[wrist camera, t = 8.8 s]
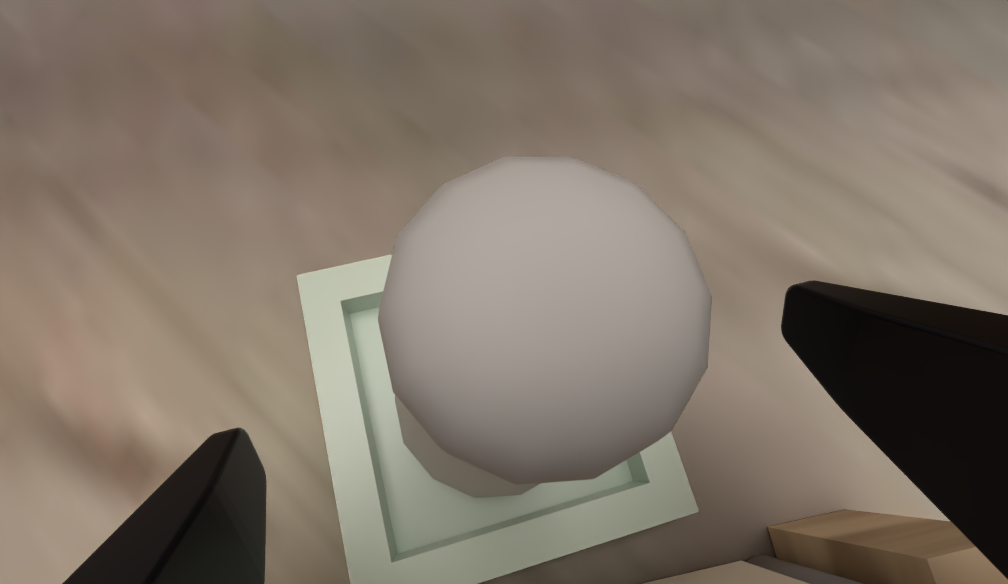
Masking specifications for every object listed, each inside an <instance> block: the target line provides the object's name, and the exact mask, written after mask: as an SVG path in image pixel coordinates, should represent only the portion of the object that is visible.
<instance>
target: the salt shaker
mask: <svg viewBox="0 0 1008 584" xmlns="http://www.w3.org/2000/svg"><path fill="white" fill-rule="evenodd" d="M711 305H712V295H711V293H710V290H709V288H708V286H707V283H706V281H705V279H704V276H703V274H702V271H701V269H700V267H699V264H698V262H697V259H696V257H695V255H694V252H693V250H692V247H691V245H690V243H689V240H688V238H687V236H686V233H685V231H684V230H683V229H682V228H681V227H680V226H679V225H678V224H677V223H676V222H675V221H674V220H673V219H672V218H671V217H670V216H669V215H668V214H667V213H666V212H665V211H664V210H663V209H662V208H661V207H660V206H659V205H658V204H657V203H656V202H655V201H654V200H653V199H652V198H651V197H650V196H649V195H648V194H647V193H646V192H645V191H644V190H643V189H642V188H641V187H640V186H639V185H638V184H637V183H636V182H634V181H631V180H629V179H626V178H624V177H621V176H619V175H616V174H614V173H611V172H609V171H606V170H604V169H601V168H599V167H596V166H594V165H591V164H589V163H586V162H584V161H581V160H579V159H576V158H574V157H523V156H504V157H502V158H500V159H497V160H495V161H493V162H491V163H489V164H486V165H484V166H482V167H480V168H477V169H475V170H473V171H471V172H469V173H466V174H464V175H462V176H460V177H457V178H455V179H453V180H451V181H449V182H446V183H444V184H442V186H441V187H440V188H439V189H438V190H437V191H436V192H435V193H434V195H433V196H432V197H431V198H430V199H429V200H428V201H427V202H426V203H425V205H424V206H423V207H422V208H421V209H420V210H419V211H418V212H417V214H416V215H415V216H414V217H413V218H412V219H411V220H410V221H409V222H408V224H407V225H406V226H405V227H404V228H403V229H402V230H401V231H400V233H399V234H398V235H397V237H396V241H395V245H394V249H393V253H392V257H391V261H390V266H389V270H388V274H387V278H386V282H385V286H384V290H383V294H382V298H381V303H380V307H379V314H378V323H379V328H380V333H381V337H382V342H383V347H384V352H385V356H386V361H387V366H388V371H389V375H390V380H391V385H392V390H393V393H394V394H395V404H396V409H397V414H398V418H399V423H400V428H401V433H402V438H403V443H404V444H405V446H406V447H407V448H408V449H409V450H410V452H411V453H412V454H413V455H414V456H415V458H416V459H417V460H418V461H419V462H420V464H421V465H422V466H423V467H424V468H425V470H426V471H427V472H428V473H429V474H430V476H431V477H432V478H433V479H434V480H437V481H439V482H441V483H443V484H445V485H448V486H450V487H452V488H454V489H456V490H459V491H461V492H463V493H465V494H467V495H469V496H472V497H474V498H483V497H498V496H512V495H522V494H524V493H525V492H527V491H529V490H530V489H532V488H534V487H535V486H537V485H539V484H540V483H549V482H563V481H577V480H590V479H595V478H597V477H598V476H600V475H602V474H603V473H605V472H607V471H608V470H610V469H612V468H614V467H615V466H617V465H619V464H620V463H622V462H624V461H625V460H627V459H629V458H630V457H632V456H634V455H635V454H637V453H639V452H641V451H642V450H644V449H646V448H647V447H649V446H651V445H652V444H654V443H656V442H657V441H659V440H660V439H662V438H663V437H664V436H666V435H667V434H668V433H670V432H671V431H672V429H673V427H674V426H675V424H676V422H677V420H678V418H679V417H680V415H681V413H682V411H683V410H684V408H685V406H686V404H687V403H688V401H689V399H690V397H691V396H692V394H693V392H694V390H695V389H696V387H697V385H698V383H699V381H700V380H701V378H702V376H703V374H704V373H705V371H706V369H707V366H708V351H709V335H710V320H711Z"/></svg>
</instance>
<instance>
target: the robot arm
mask: <svg viewBox="0 0 1008 584" xmlns="http://www.w3.org/2000/svg"><path fill="white" fill-rule="evenodd" d="M781 330H782V334H783V337H784V339H785V340H786V342H787V343H788V344H789V346H790V347H791V348H792V349H793V351H794V352H795V353H796V354H797V355H798V357H799V358H800V359H801V360H802V362H803V363H804V364H805V365H806V367H807V368H808V369H809V370H810V372H811V373H812V374H813V375H814V377H815V378H816V379H817V380H818V381H819V383H820V384H821V385H822V386H823V388H824V389H825V390H826V391H827V393H828V394H829V395H830V396H831V398H832V399H833V400H834V401H835V402H836V403H837V405H838V406H839V407H840V408H841V409H842V410H843V411H844V412H845V413H846V415H847V416H848V417H849V418H850V419H851V420H852V421H853V422H854V423H855V424H856V425H857V426H858V427H859V428H860V429H861V430H862V431H863V432H864V433H865V434H866V435H867V436H868V437H869V438H870V439H871V440H872V441H873V442H874V443H875V444H876V445H877V446H878V447H879V448H880V449H881V451H882V452H883V453H884V454H885V455H886V456H887V457H888V458H889V459H890V460H891V461H892V462H893V463H894V464H895V465H896V466H897V467H898V468H899V469H900V470H901V471H902V472H903V473H904V474H905V475H906V476H907V477H908V478H909V479H910V480H911V481H912V482H913V483H914V484H915V485H916V486H917V487H918V488H919V489H920V490H921V491H922V492H923V494H924V495H925V496H926V497H927V498H928V499H929V500H930V501H931V502H932V503H933V504H934V505H935V506H936V507H937V508H938V509H939V510H940V511H941V512H942V513H943V514H944V515H945V516H946V517H947V518H948V519H949V520H950V521H951V522H952V523H953V524H954V525H955V526H956V527H957V528H958V529H959V530H960V531H961V532H962V533H963V534H964V535H965V536H966V538H967V539H968V540H969V541H970V542H971V543H972V544H973V545H974V546H975V547H976V548H977V549H978V550H979V551H980V552H981V553H982V554H983V555H984V556H985V557H986V558H987V559H988V560H989V561H990V562H991V563H992V564H993V565H994V566H995V567H996V568H997V569H998V570H999V571H1000V572H1001V573H1002V574H1003V575H1004V576H1005V577H1006V578H1007V579H1008V315H1003V314H997V313H992V312H986V311H981V310H975V309H970V308H964V307H959V306H953V305H948V304H942V303H936V302H931V301H925V300H920V299H914V298H909V297H903V296H898V295H892V294H887V293H881V292H876V291H870V290H864V289H859V288H853V287H848V286H842V285H837V284H831V283H826V282H820V281H807V282H803V283H799V284H795V285H792V286H791V287H789V288H788V290H787V292H786V295H785V302H784V309H783V316H782V323H781ZM265 545H266V475H265V471H264V467H263V465H262V463H261V461H260V459H259V457H258V454H257V452H256V450H255V448H254V446H253V444H252V442H251V440H250V437H249V435H248V434H247V432H246V431H245V430H244V429H242V428H234V429H230V430H226V431H223V432H219V433H215V434H213V435H211V436H210V437H209V438H208V439H207V440H206V441H205V442H204V443H203V444H202V445H201V446H200V447H199V448H198V449H197V450H196V451H195V452H194V453H193V454H192V455H191V456H190V457H189V458H188V459H187V460H186V461H185V462H184V463H183V464H182V465H181V466H180V467H179V468H178V469H177V470H176V471H175V472H174V473H173V474H172V475H171V476H170V477H169V478H168V479H167V480H166V481H165V482H164V483H163V484H162V485H161V486H160V487H159V488H158V489H157V490H156V491H155V492H154V493H153V494H152V495H151V496H150V497H149V498H148V499H147V500H146V501H145V502H144V503H143V504H142V505H141V506H140V507H139V508H138V509H137V510H136V511H135V512H134V513H133V514H132V515H131V516H130V517H129V518H128V519H127V520H126V521H125V522H124V523H123V524H122V525H121V526H120V527H119V528H118V529H117V530H116V531H115V532H114V533H113V534H112V535H111V536H110V537H109V538H108V539H107V540H106V541H105V542H104V543H103V544H102V545H101V546H100V547H99V548H98V549H97V550H96V551H95V552H94V553H93V554H92V555H91V556H90V557H89V558H88V559H87V560H86V561H85V562H84V563H83V564H82V565H81V566H80V567H79V568H78V569H77V570H76V571H75V572H74V573H73V574H72V575H71V576H70V577H69V578H68V579H67V580H66V581H65V582H64V583H63V584H264V582H265Z"/></svg>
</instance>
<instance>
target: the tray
mask: <svg viewBox="0 0 1008 584" xmlns="http://www.w3.org/2000/svg"><path fill="white" fill-rule="evenodd" d="M391 257H392V255H387V256H382V257H378V258H373V259H369V260H364V261H359V262H355V263H350V264H346V265H341V266H336V267H332V268H327V269H323V270H318V271H313V272H309V273H304V274H300V275H297V280H298V286H299V292H300V298H301V303H302V309H303V315H304V321H305V326H306V332H307V338H308V344H309V349H310V355H311V361H312V367H313V372H314V378H315V384H316V390H317V395H318V401H319V407H320V413H321V418H322V424H323V430H324V436H325V441H326V447H327V453H328V459H329V464H330V470H331V476H332V482H333V487H334V493H335V499H336V505H337V510H338V516H339V522H340V528H341V533H342V539H343V545H344V551H345V556H346V562H347V568H348V574H349V579H350V584H478V583H481V582H485V581H488V580H491V579H494V578H497V577H500V576H503V575H506V574H509V573H512V572H515V571H518V570H521V569H525V568H528V567H531V566H534V565H537V564H540V563H543V562H546V561H549V560H552V559H555V558H558V557H561V556H565V555H568V554H571V553H574V552H577V551H580V550H583V549H586V548H589V547H592V546H595V545H598V544H602V543H605V542H608V541H611V540H614V539H617V538H620V537H623V536H626V535H629V534H632V533H635V532H638V531H642V530H645V529H648V528H651V527H654V526H657V525H660V524H663V523H666V522H669V521H672V520H675V519H679V518H682V517H685V516H688V515H691V514H694V513H697V512H699V510H698V507H697V504H696V501H695V498H694V495H693V492H692V490H691V487H690V484H689V481H688V478H687V475H686V472H685V470H684V467H683V464H682V461H681V458H680V455H679V453H678V450H677V447H676V444H675V441H674V438H673V435H672V433H671V432H670V433H668V434H667V435H666V436H664V437H663V438H662V439H660V440H659V441H657V442H656V443H654V444H652V445H651V446H649V447H647V448H646V449H644V450H642V451H641V452H639V453H637V454H635V455H634V456H632V457H630V458H629V459H627V460H625V461H624V462H622V463H620V464H619V465H617V466H615V467H614V468H612V469H610V470H608V471H607V472H605V473H603V474H602V475H600V476H598V477H597V478H595V479H590V480H577V481H563V482H549V483H540V484H539V485H537V486H535V487H534V488H532V489H530V490H529V491H527V492H525V493H524V494H522V495H512V496H498V497H483V498H474V497H472V496H469V495H467V494H465V493H463V492H461V491H459V490H456V489H454V488H452V487H450V486H448V485H445V484H443V483H441V482H439V481H437V480H434V479H433V478H432V477H431V476H430V474H429V473H428V472H427V471H426V470H425V468H424V467H423V466H422V465H421V464H420V462H419V461H418V460H417V459H416V458H415V456H414V455H413V454H412V453H411V452H410V450H409V449H408V448H407V447H406V446H405V444H404V443H403V438H402V433H401V428H400V423H399V418H398V414H397V409H396V404H395V394H394V393H393V390H392V385H391V380H390V375H389V371H388V366H387V361H386V356H385V352H384V347H383V342H382V337H381V333H380V328H379V323H378V314H379V307H380V303H381V298H382V294H383V290H384V286H385V282H386V278H387V274H388V270H389V266H390V261H391Z"/></svg>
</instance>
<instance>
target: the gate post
mask: <svg viewBox="0 0 1008 584" xmlns="http://www.w3.org/2000/svg"><path fill="white" fill-rule="evenodd" d="M768 530H769V534H770V537H771V540H772V544H773V547H774V550H775V554H776V557H777V558H778V559H781V560H784V561H788V562H791V563H795V564H798V565H802V566H805V567H808V568H812V569H815V570H819V571H822V572H825V573H829V574H832V575H836V576H839V577H843V578H846V579H849V580H853V581H856V582H860V583H863V584H1008V579H1007V578H1006V577H1005V576H1004V575H1003V574H1002V573H1001V572H1000V571H999V570H998V569H997V568H996V567H995V566H994V565H993V564H992V563H991V562H990V561H989V560H988V559H987V558H986V557H985V556H984V555H983V554H982V553H981V552H980V551H979V550H978V549H977V548H976V547H975V546H974V545H973V544H972V543H971V542H970V541H969V540H968V539H967V538H966V536H965V535H964V534H963V533H962V532H961V531H960V530H959V529H958V528H957V527H956V526H955V525H954V524H953V523H952V522H948V521H940V520H931V519H923V518H914V517H906V516H897V515H888V514H880V513H871V512H863V511H854V510H841V511H836V512H832V513H827V514H823V515H818V516H814V517H809V518H805V519H800V520H796V521H792V522H787V523H783V524H778V525H774V526H769V527H768Z"/></svg>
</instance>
